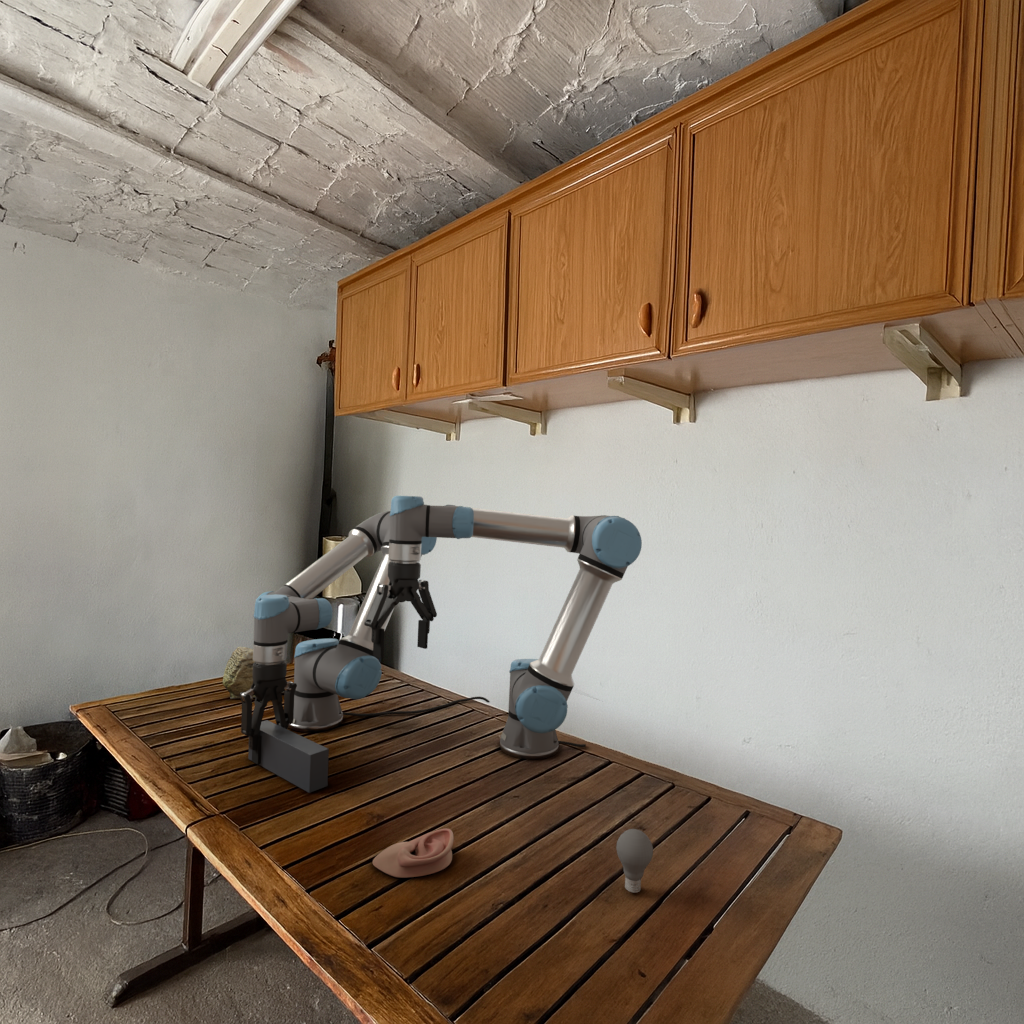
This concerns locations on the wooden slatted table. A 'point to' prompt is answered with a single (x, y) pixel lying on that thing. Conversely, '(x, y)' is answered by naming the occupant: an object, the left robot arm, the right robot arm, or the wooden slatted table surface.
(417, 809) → the wooden slatted table surface
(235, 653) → the fossil
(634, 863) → the light bulb
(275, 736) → the bar
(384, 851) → the anatomical model
